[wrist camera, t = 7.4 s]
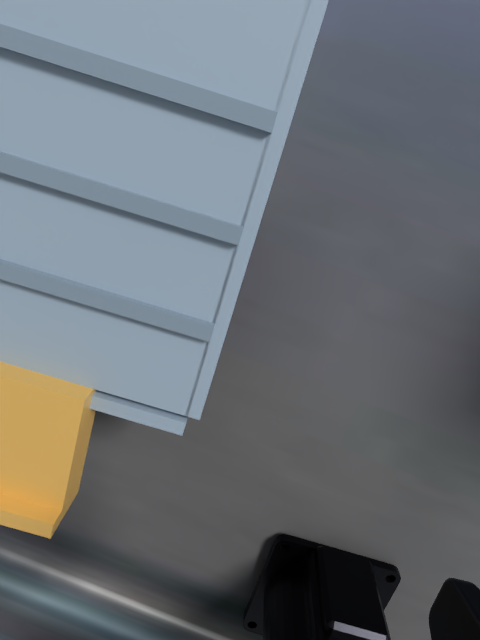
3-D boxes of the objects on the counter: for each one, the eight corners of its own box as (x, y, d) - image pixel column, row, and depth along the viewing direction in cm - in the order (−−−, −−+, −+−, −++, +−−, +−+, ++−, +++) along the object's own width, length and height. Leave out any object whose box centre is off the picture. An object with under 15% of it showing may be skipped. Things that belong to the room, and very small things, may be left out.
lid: (172, 506, 18) (154, 568, 15) (-93, 429, 17) (-162, 479, 15) (323, 12, 12) (339, -32, 9) (-63, -114, 12) (-164, -200, 9)
